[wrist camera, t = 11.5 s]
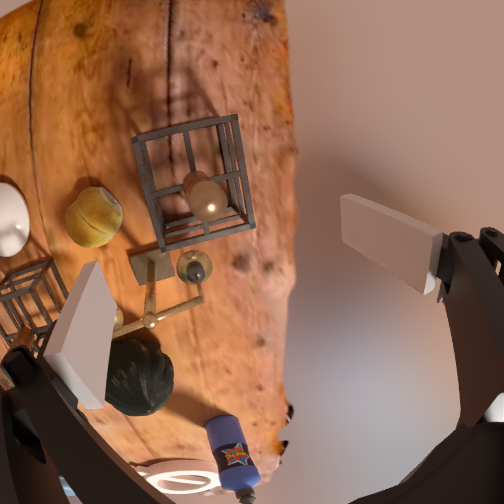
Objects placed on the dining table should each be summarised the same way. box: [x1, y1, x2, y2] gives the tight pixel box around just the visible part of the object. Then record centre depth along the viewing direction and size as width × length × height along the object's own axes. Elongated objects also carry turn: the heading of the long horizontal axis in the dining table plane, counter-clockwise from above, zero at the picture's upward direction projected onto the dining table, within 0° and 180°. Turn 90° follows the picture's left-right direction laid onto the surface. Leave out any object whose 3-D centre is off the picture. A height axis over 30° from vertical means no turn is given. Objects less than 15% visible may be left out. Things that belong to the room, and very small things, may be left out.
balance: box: [112, 247, 212, 339], centre depth 34 cm, size 18×5×16 cm, turn 99°
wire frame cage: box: [131, 114, 256, 254], centre depth 30 cm, size 12×14×19 cm
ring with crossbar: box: [135, 460, 221, 494], centre depth 70 cm, size 28×28×5 cm
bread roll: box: [65, 187, 123, 248], centre depth 34 cm, size 8×9×4 cm
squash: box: [105, 336, 174, 416], centre depth 42 cm, size 14×15×15 cm
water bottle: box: [205, 415, 261, 504], centre depth 52 cm, size 9×9×25 cm
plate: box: [0, 182, 30, 257], centre depth 30 cm, size 12×12×2 cm
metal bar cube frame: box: [0, 258, 69, 387], centre depth 29 cm, size 12×14×19 cm
